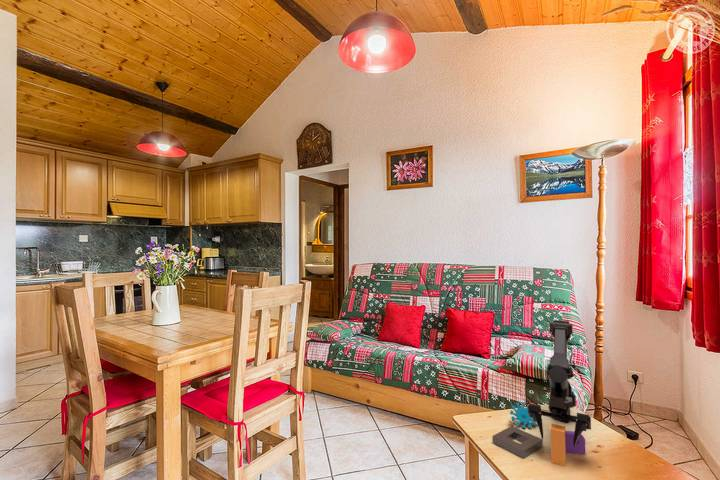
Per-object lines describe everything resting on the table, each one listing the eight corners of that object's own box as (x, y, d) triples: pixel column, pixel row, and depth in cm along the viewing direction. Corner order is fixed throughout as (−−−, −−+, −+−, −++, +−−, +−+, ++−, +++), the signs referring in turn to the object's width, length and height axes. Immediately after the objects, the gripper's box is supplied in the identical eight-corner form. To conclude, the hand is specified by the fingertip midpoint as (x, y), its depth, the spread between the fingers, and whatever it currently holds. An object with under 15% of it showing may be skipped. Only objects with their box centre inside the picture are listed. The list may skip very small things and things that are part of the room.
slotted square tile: (511, 432, 139) (511, 425, 139) (542, 446, 129) (542, 439, 129) (492, 442, 132) (492, 436, 132) (523, 458, 123) (523, 451, 123)
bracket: (585, 455, 124) (584, 435, 124) (563, 453, 126) (562, 433, 126) (573, 436, 136) (572, 418, 136) (553, 435, 137) (552, 416, 137)
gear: (510, 423, 142) (510, 398, 149) (507, 429, 146) (508, 404, 153) (541, 431, 139) (540, 405, 145) (538, 436, 143) (537, 410, 150)
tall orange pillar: (552, 456, 124) (551, 423, 124) (565, 459, 122) (565, 426, 122) (551, 462, 120) (550, 429, 120) (565, 466, 118) (564, 432, 118)
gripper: (527, 380, 129) (524, 425, 120) (590, 390, 120) (591, 440, 110) (530, 394, 136) (527, 438, 127) (590, 405, 126) (591, 453, 117)
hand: (557, 442), depth 120 cm, fingers open, 9 cm apart
